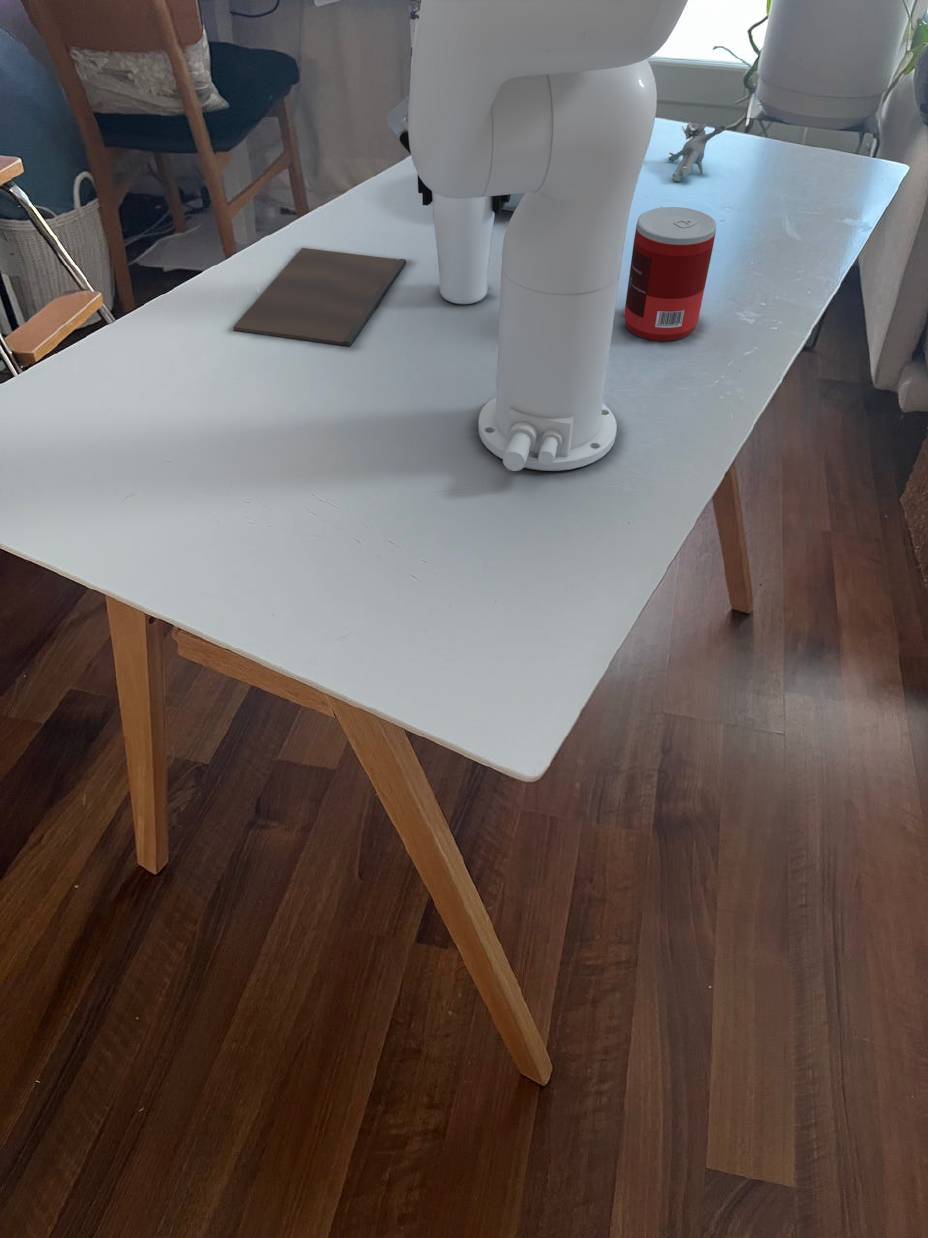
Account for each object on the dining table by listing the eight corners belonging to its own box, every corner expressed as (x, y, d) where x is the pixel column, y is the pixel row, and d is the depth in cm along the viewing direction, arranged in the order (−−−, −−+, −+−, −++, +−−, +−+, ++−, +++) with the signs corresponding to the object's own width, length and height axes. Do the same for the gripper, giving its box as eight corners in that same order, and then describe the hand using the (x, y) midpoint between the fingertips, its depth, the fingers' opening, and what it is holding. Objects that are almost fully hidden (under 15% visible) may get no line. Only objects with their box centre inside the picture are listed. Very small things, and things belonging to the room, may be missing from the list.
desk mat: (350, 346, 96) (350, 342, 96) (233, 330, 99) (232, 325, 98) (406, 263, 110) (406, 259, 110) (302, 250, 112) (302, 246, 112)
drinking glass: (487, 312, 102) (491, 168, 91) (427, 306, 103) (423, 162, 92) (498, 284, 106) (503, 144, 96) (440, 278, 107) (438, 139, 97)
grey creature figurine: (640, 176, 130) (662, 132, 133) (667, 207, 133) (687, 164, 136) (696, 142, 122) (718, 96, 125) (723, 176, 125) (743, 131, 128)
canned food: (711, 324, 100) (732, 221, 92) (665, 350, 96) (684, 245, 88) (653, 300, 104) (670, 199, 96) (608, 324, 100) (621, 221, 92)
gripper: (361, 7, 84) (373, 209, 96) (552, 21, 81) (538, 228, 93) (387, -12, 89) (395, 182, 101) (567, 1, 86) (552, 199, 98)
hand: (464, 202), depth 97 cm, fingers closed on drinking glass, 6 cm apart
